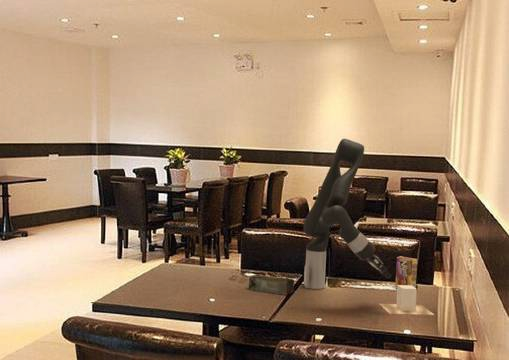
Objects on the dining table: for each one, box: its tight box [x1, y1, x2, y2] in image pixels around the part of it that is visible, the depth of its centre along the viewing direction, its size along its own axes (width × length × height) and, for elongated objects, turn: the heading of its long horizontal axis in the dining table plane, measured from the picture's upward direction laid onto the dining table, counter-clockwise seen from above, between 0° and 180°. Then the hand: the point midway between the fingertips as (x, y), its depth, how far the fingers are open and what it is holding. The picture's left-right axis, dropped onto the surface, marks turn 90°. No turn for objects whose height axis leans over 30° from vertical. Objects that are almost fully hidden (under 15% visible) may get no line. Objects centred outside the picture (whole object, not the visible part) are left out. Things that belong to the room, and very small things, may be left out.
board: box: [379, 303, 435, 316], centre depth 235 cm, size 18×15×1 cm
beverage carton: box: [248, 274, 295, 296], centre depth 259 cm, size 8×19×7 cm, turn 64°
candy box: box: [394, 255, 418, 289], centre depth 273 cm, size 9×4×15 cm, turn 39°
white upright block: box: [395, 285, 417, 311], centre depth 235 cm, size 6×6×9 cm
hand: (387, 275), depth 234 cm, fingers open, 8 cm apart
